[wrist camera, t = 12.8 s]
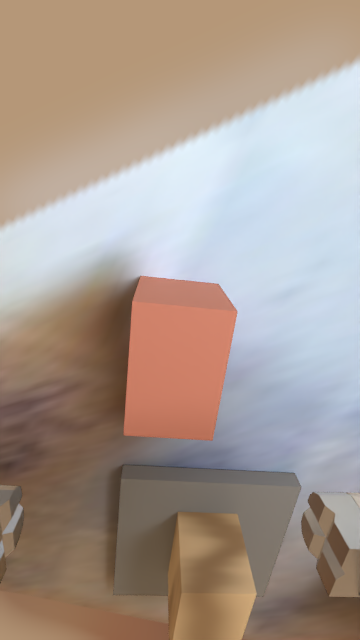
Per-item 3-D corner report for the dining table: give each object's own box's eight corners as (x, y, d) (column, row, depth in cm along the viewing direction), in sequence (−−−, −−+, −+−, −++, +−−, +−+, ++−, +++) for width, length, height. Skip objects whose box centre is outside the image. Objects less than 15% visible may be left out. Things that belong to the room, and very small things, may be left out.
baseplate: (294, 473, 23) (301, 486, 22) (259, 580, 28) (263, 596, 27) (123, 464, 22) (121, 478, 21) (115, 578, 26) (113, 594, 25)
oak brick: (237, 513, 23) (256, 593, 18) (222, 573, 25) (235, 657, 20) (177, 511, 22) (181, 592, 18) (168, 572, 25) (169, 658, 20)
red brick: (217, 283, 18) (237, 311, 13) (201, 385, 20) (212, 440, 15) (140, 275, 17) (132, 301, 13) (133, 380, 20) (123, 435, 15)
